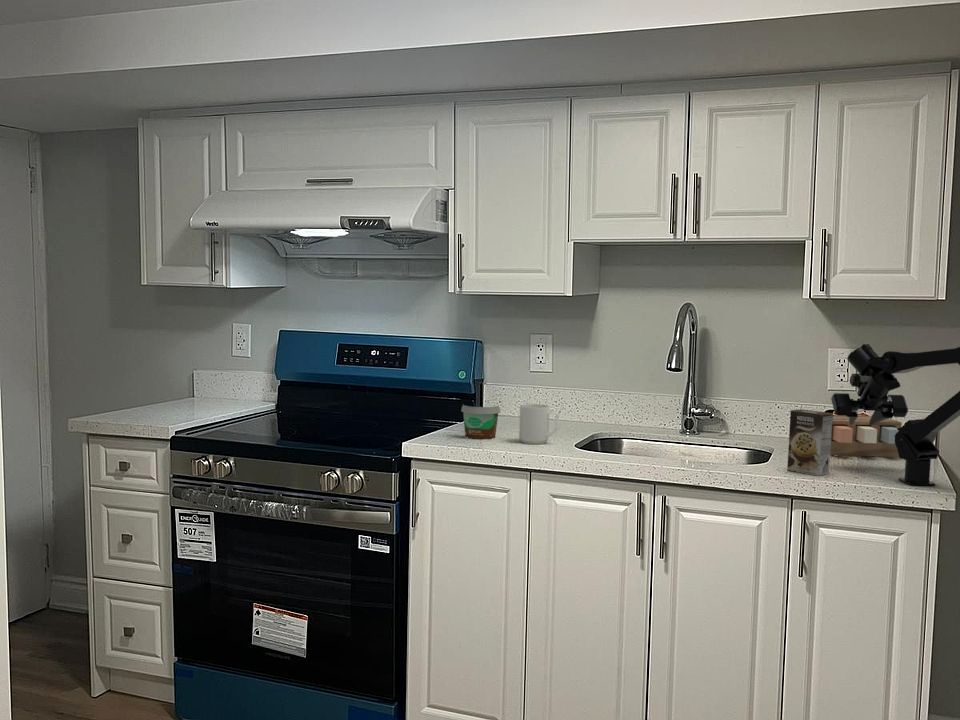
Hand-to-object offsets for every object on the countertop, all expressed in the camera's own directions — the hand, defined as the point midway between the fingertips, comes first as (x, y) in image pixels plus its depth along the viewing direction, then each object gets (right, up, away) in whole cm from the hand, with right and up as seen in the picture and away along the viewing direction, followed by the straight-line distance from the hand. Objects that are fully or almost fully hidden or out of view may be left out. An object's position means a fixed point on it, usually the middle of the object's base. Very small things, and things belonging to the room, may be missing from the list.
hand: (860, 423), depth 259 cm
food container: (-105, -7, +31) cm, 110 cm away
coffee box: (-18, -12, -11) cm, 24 cm away
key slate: (+14, -6, +12) cm, 19 cm away
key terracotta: (0, -6, +12) cm, 13 cm away
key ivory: (+7, -6, +12) cm, 15 cm away
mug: (-87, -8, +26) cm, 91 cm away
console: (+6, -10, +21) cm, 24 cm away
